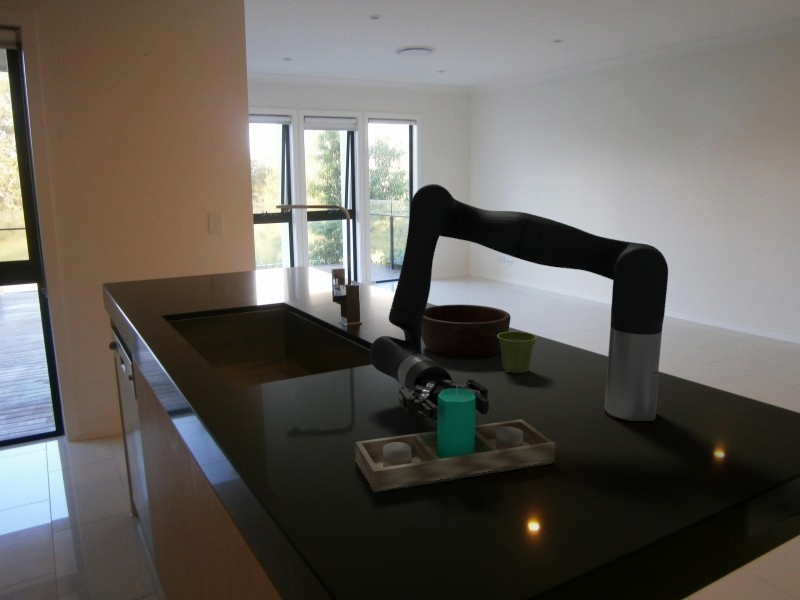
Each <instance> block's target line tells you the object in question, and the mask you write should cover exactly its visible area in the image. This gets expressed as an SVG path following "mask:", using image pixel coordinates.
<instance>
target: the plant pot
mask: <svg viewBox="0 0 800 600" xmlns="http://www.w3.org/2000/svg"><path fill="white" fill-rule="evenodd" d="M497 338H498V339H499V343H500V345H501V350H500V352H501V360H502V369H504V370H505V371H508V372H509V373H513V374H514V373H522V374H524V373H523V372H526V373H527V372H529V371H528V370H530V365H531V359H532V354H533V349H534V345H535V341H536V340H537V339H538V336H537V335H536V334H533V333H529V332H526V331H508V332H503V333H499V334H498V335H497ZM504 370H503V371H504ZM505 371H504V372H505ZM508 372H507V373H508Z"/></svg>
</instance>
